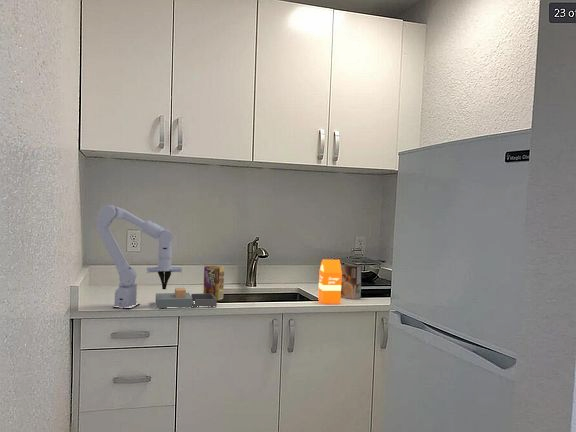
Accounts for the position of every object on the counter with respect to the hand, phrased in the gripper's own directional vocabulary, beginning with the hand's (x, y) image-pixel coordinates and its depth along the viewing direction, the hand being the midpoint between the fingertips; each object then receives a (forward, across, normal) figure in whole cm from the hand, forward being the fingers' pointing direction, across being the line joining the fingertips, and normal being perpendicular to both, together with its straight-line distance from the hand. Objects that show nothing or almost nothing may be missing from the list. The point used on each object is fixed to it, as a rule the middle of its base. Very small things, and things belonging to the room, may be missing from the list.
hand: (164, 288), depth 220 cm
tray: (+7, +17, 0) cm, 18 cm away
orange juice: (+8, +76, -2) cm, 77 cm away
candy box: (+8, +23, +11) cm, 27 cm away
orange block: (+3, +7, 0) cm, 8 cm away
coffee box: (+8, +91, +6) cm, 91 cm away
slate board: (+7, +4, 0) cm, 8 cm away
